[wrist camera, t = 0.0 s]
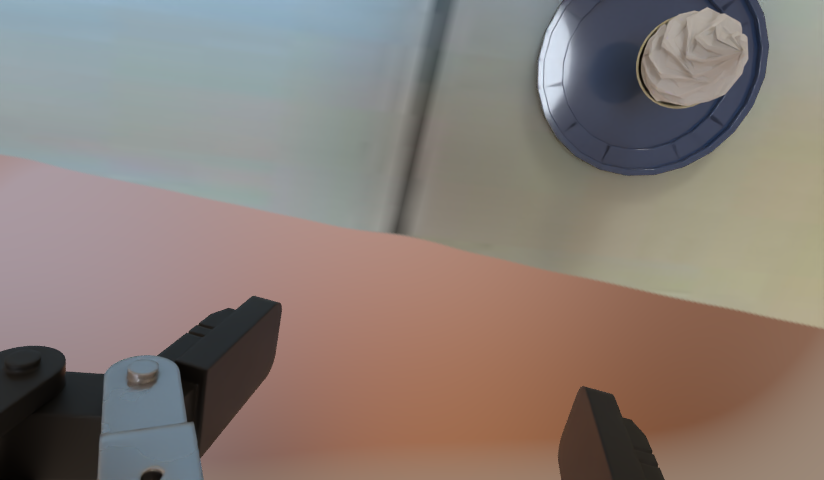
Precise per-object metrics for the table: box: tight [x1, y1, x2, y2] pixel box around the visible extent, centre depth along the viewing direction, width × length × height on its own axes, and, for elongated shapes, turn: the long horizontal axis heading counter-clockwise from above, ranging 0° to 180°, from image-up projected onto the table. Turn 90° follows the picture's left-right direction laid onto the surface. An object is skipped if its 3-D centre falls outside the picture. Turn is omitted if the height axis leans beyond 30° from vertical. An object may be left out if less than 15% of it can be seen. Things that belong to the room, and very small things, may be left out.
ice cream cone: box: [636, 7, 748, 109], centre depth 29 cm, size 5×5×15 cm
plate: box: [536, 0, 769, 176], centre depth 36 cm, size 15×15×2 cm
